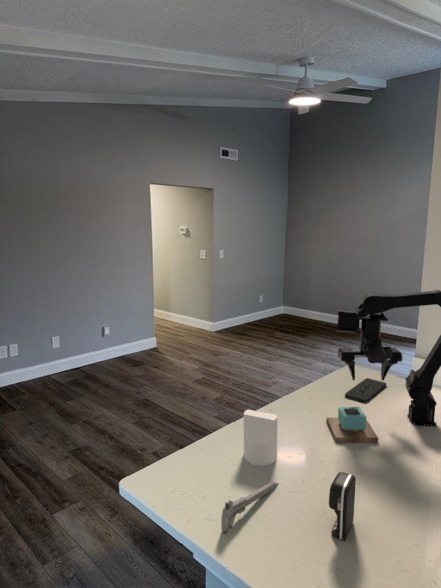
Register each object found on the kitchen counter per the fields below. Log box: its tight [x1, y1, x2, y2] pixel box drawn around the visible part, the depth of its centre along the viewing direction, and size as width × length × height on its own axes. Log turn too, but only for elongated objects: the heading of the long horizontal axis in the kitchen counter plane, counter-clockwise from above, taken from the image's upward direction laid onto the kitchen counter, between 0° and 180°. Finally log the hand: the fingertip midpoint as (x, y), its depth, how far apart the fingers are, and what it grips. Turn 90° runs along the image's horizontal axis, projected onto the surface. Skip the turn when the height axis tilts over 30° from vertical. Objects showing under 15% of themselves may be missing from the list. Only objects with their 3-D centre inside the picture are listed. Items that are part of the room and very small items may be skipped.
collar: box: [337, 406, 367, 430], centre depth 120 cm, size 6×6×4 cm
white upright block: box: [243, 409, 278, 466], centre depth 108 cm, size 9×9×12 cm
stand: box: [325, 408, 379, 444], centre depth 120 cm, size 12×12×7 cm
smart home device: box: [344, 377, 387, 404], centre depth 150 cm, size 8×2×20 cm
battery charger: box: [328, 471, 356, 541], centre depth 82 cm, size 7×4×11 cm, turn 147°
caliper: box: [221, 480, 279, 534], centre depth 90 cm, size 20×1×6 cm, turn 140°
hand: (367, 380), depth 129 cm, fingers open, 9 cm apart
